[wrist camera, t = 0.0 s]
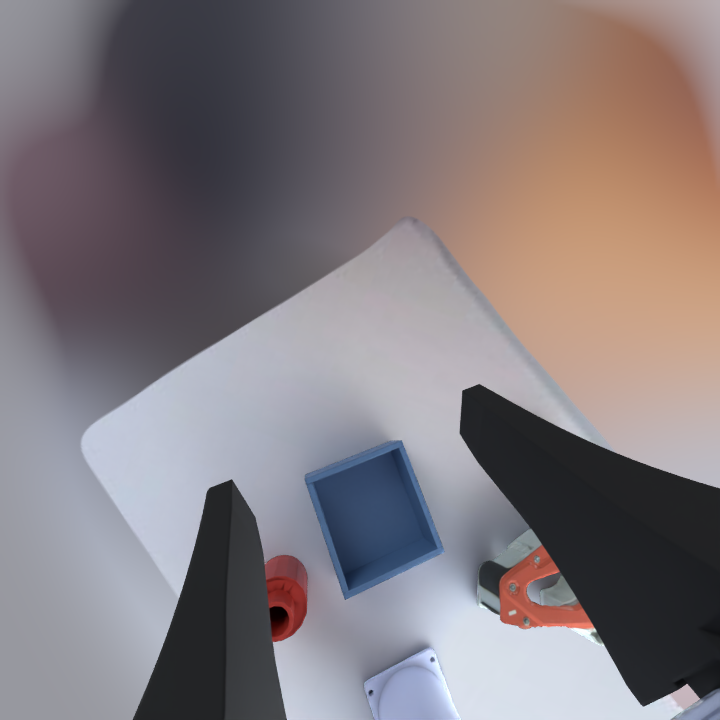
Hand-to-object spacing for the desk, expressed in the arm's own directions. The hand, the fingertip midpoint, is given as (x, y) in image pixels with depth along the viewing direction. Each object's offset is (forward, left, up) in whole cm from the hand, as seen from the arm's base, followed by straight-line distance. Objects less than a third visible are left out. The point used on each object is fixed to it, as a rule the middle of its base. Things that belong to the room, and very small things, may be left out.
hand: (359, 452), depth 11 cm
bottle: (-12, +8, -32) cm, 35 cm away
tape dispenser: (-20, -20, -32) cm, 43 cm away
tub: (-8, -3, -32) cm, 33 cm away
